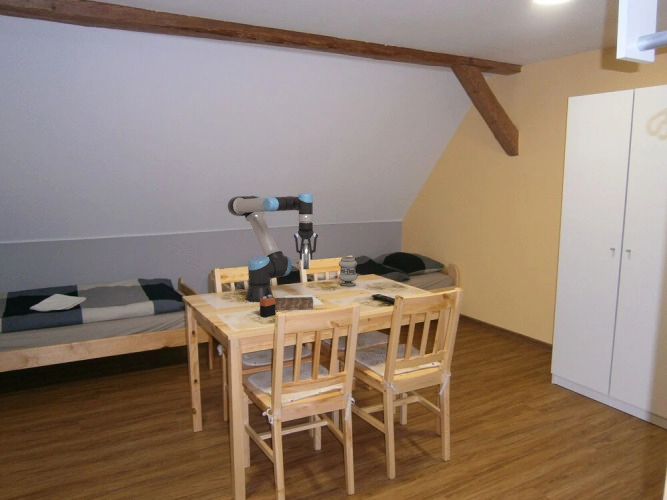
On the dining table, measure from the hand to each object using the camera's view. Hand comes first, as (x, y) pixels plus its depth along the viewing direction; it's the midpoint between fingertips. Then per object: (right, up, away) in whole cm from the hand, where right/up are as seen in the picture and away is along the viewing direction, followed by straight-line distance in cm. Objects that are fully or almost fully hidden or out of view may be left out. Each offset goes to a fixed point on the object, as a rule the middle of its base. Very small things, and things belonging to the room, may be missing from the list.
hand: (306, 265), depth 268 cm
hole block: (-8, -22, -9) cm, 25 cm away
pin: (0, -2, 0) cm, 2 cm away
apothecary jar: (+24, -14, +47) cm, 54 cm away
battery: (-18, -24, -24) cm, 38 cm away
